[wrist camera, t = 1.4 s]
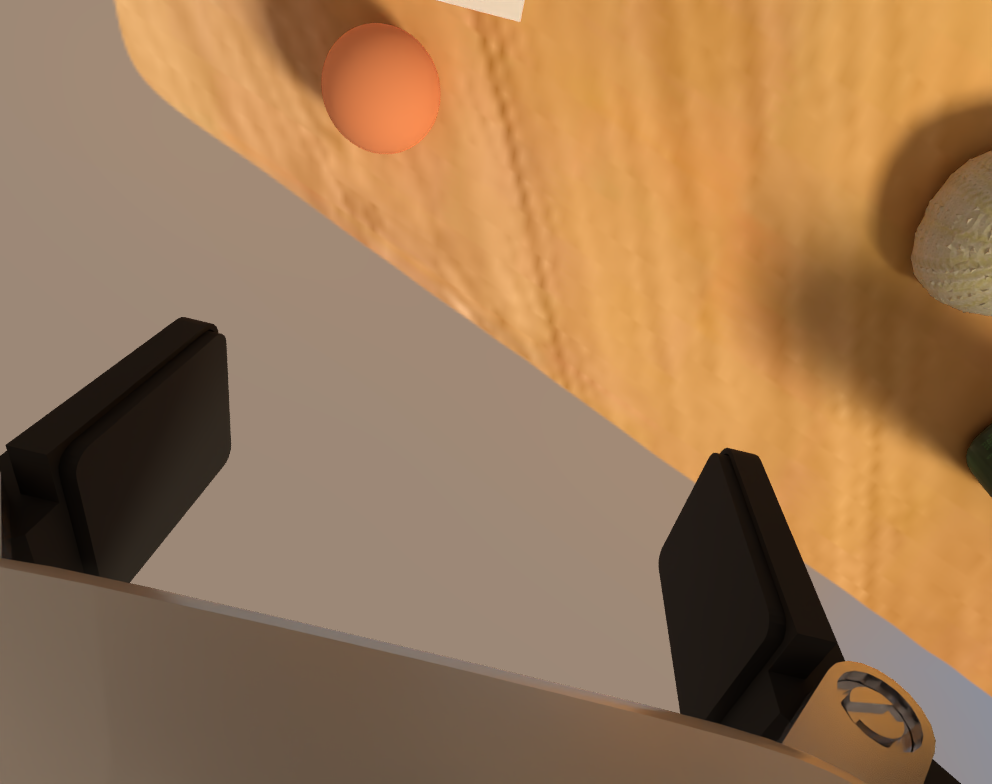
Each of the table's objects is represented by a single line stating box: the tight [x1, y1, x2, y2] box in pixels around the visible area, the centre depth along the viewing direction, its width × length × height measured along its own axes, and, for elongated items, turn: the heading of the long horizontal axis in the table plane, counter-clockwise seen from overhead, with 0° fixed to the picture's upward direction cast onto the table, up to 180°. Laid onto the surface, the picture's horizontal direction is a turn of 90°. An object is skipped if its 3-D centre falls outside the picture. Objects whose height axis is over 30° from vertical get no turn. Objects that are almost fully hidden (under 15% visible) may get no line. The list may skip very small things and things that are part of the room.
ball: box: [321, 23, 440, 154], centre depth 31 cm, size 6×6×6 cm
